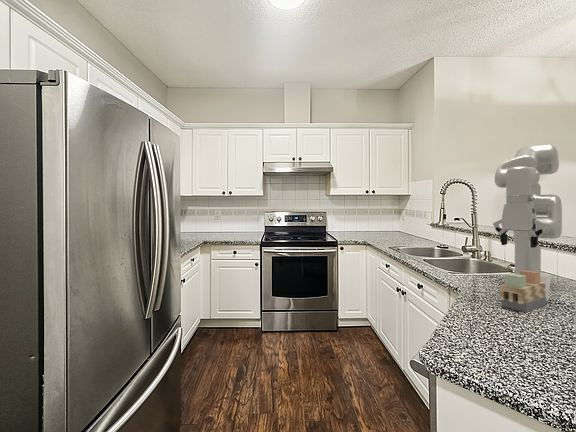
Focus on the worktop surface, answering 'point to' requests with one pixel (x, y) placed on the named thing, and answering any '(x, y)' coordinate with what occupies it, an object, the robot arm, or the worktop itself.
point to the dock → (525, 304)
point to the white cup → (546, 283)
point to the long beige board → (523, 292)
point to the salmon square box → (531, 276)
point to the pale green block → (515, 280)
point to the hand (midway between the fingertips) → (518, 246)
